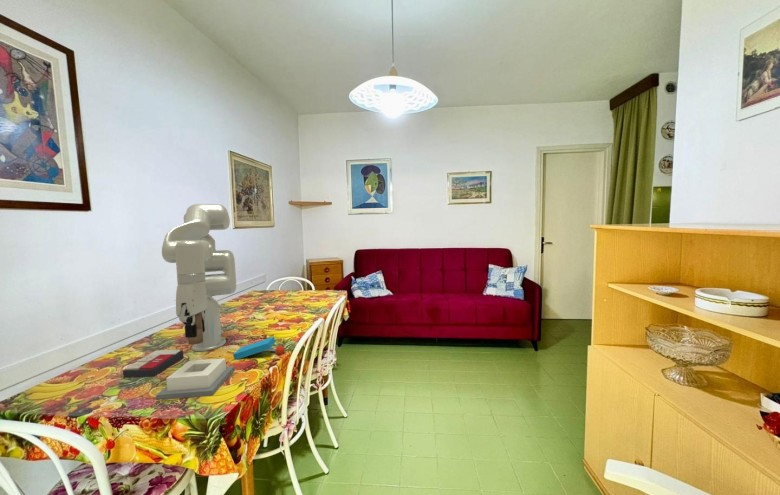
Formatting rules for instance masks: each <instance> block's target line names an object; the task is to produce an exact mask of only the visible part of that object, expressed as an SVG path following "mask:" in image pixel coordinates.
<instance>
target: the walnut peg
mask: <svg viewBox="0 0 780 495" xmlns="http://www.w3.org/2000/svg"><path fill="white" fill-rule="evenodd" d="M189 314H190V313H188V314H187V315H189ZM188 318H190V320H191V317H188ZM195 324H196V328H197V336H196V337H191V338H187V339H188V345H190V346H193V345H195V344H199V343H202V342H203V329H202V314H201V312H199V313H198V314H196V315H195Z"/></svg>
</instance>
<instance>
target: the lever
mask: <svg viewBox="0 0 780 495" xmlns="http://www.w3.org/2000/svg"><path fill="white" fill-rule="evenodd" d="M275 344H276V339H275V337H274V336H272V337H268V338H265V339H263V340H259V341H257V342H254V343H253V342H252V343H250V344H247V345H244V346H241V347H240V348H238V349H237V350H236V351H235V352H234V353H233V354H232V356H233V359H234V360H236V361H237V360H240V359H243V358H246V357H248V356H252V355H255V354H259V353H261V352H265V351H267V352H268V351H270V352H275V353H276V354H277V355H283V354H284V352H285V348H284V346H282V345H278V346H277V347H273V346H274V345H275Z"/></svg>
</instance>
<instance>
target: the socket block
mask: <svg viewBox="0 0 780 495" xmlns="http://www.w3.org/2000/svg"><path fill="white" fill-rule="evenodd" d="M233 372H235V365H234V366H233V365H231V366H227V364H226V358H223V357H222V358H211V359H210V358H209V359H197V360H196V359H195V360H188V361H186V362H185V363H184V364H183V365H182V366H181V367H179V368H177V369H176V371H174V372H173V373H171V374H170V375H169V376H168V377H166V386H165V387H164V388H163V389H162V390H160V391H159V392H158V393H157V394H156V395H155V399H156V401H160V399H162V400H170V399H171V400H172V399H182V398H185V399H186V398H196V397H205V396H214V394H215V393H216V392H218V390H219V388H220V387H222V385H223V384H224V383H225V382H226V381H227V379H229V377H230V376H231V375H232V374H233Z"/></svg>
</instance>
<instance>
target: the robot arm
mask: <svg viewBox="0 0 780 495" xmlns="http://www.w3.org/2000/svg"><path fill="white" fill-rule="evenodd" d="M230 220H231V219H230V215H229V212H228V210H227V208H226V207H225V206H224V205H222V204H219V203H217V204H216V203H195V204H191V205H190V206H188V207H187V209H186V212H185V213H184V215H183V223H182V224H179V225H178V226H176V227H174V228H172V229H170V230H169V231H167V233H166V234H165V236H164V239H163V242H162V246H161V256H162V258H163V260H164V261H165V262H166V263H170V264H176V265H175V266H176V268H175V269H176V281H177V287H176V292H175V313H176V317H178V321H180V322H182V323H183V327H184V335H185V338H186V339H188V338H191V337H196V336H197V328H196V324H195V315H196V314H198V313H199V312H201V314H202V329H203V342H202V343H199V344H195V345H191V348H192V350H193V351H194V352H206V351H212V350H216V349H218V348H220V347H223V346H224V345H225V344H226V339H225V338H224V337H222V335H223V334H224V332H225V331H224V329H222V326H221V322H222V321H221V310H220V303H219V302H218V301H217V300H216V299H215V298H214V297H216V296H223V295H224V296H226V295H231V294H234V293H235V292H236V290H237V277H236V276H237V275H236V274H237V273H236V262H235V261H236V260H235V256H234V253H233V252H232V251H230V250H227V249H224V250H220V249H219V250H218V249H216V241H215V238H213V236H212V235H211V234H210V231H223V230H227V229H229V226H230V223H231V222H230ZM212 272H213V273H212ZM216 272H223V273H216ZM206 273H212V274H206ZM188 313H190V314H189V315H187V314H188ZM188 317H191V320H190V318H188Z"/></svg>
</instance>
